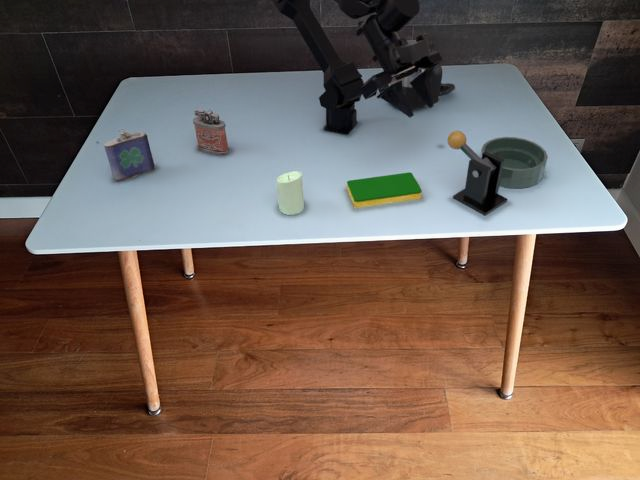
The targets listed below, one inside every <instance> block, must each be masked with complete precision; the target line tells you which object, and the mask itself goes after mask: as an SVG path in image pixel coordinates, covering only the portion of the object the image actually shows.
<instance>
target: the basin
mask: <svg viewBox="0 0 640 480" xmlns="http://www.w3.org/2000/svg"><path fill="white" fill-rule="evenodd" d="M485 151H486V152H488V153H490V154H493V155H495V156H497V157H499V158H501V159H503V160H504V165H503V170H502V175H501V180H500V185H499V187H502V188H507V189H526V188H527V189H528V188H531V187H533V186H536V185H538V184H539V183H540V182H541V181H543V178H544V174H545V169H546V165H547V163H548V153H547V151H546V150H545V148H543V147H542V146H541V145H539V144H538V143H536V142H535V141H531V140H529V139H527V138H521V137H515V136H502V137H495V138H493V139H489V140H487V141H486V142H485V143H484V144H482V146H481V149H480V155H479V157H480V158H481V159H482V153H484V152H485Z"/></svg>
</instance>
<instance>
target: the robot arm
mask: <svg viewBox="0 0 640 480" xmlns="http://www.w3.org/2000/svg"><path fill="white" fill-rule="evenodd" d="M333 1H334V2H335V3H337V5H338V8H339V10H340V11H341V12H342V13H344V14H345V15H346V16H348V17H349V18H350V19H352V20H358V19H360V18H364V17H366V16H368V17H367V18H366V19H363V20H361V21H359V22H357V28H356V33H355V35H356V37H361V36H363V35H364V36H365V38H366V40H367V42H368V45H369V46H370V48H371V50H372V51H373V54H374V55H373V57H372V61H373V62H374V63H376V62H378V63H379V65H380V67H381V69H382V71H380V72H379V73H376V74H374V75H371V77H369V78H368V79H367V80H366V81H364V80H363V75H362V73H360V72H359V69H358V68H357V66H356V64H355V63H354V62H353V61H350V62H345V61H343V60H342V59H341V57H340V56H339V53H338V52H337V50H336V48H335V46H334V45H333V43H332V41H331V40H330V39H329V37H328V35H327V34H326V33H327V32H325V31H326V30H325V29H324V28H323V26H322V24H321V22H320V21H319V20H318V18H317V16H316V15H315V13H314V11H313V9H312V6H311V0H271V2H272V4H273V5H274V6H275V8H276V9H277V10H278V12H279V13H280V14H282V15H283V16H285V17H287V18H289V19H290V20H292V22H293V23H294V25H295V27H296V29H297V30H298V32H299V34H300V35H301V37H302V39H303V41H304V42H305V44H306V46H307V47H308V49H309V51H310V52H311V54H312V56H313V58H314V60H315V61H316V62H317V64H318V66H319V68H320V70H321V71H322V73H323V82H322V83H323V88H324V92H323V93H321V94H320V95H319V96H318V100H319V105H320V107H322V108H324V109H325V125H324V127H323V131H327V132H331V133H335V134H341V135H349V134H350V133H351V132H352V130H354V129H355V127H356V126H357V125H358V121H357V119H358V118H357V117H358V115H357V112H358V111H357V109H356V103H357V102H360V101H361V99H362V97H363V99H364V100H366V101H367V100H368V99H371V98H373V97H375V96H376V99H378V100H379V99H381V100H383V101H384V102H386V103H388V104H390V105H391V106H392V107H393V108H396V109H397V110H398V111H400V112H401V113H402V114H404V115H406V117H408V118H412V117H413V116H414V115H415V114H414V112H413V110H412V109H411V107H410V105H409V103H408V101H407V99H406V97H405V95H404V93H403V91H402V80H401V79H403V78H405V77H408V76H410V75H411V77H412V79H413V80H412V81H411V82H410V84H411V86H412V87H413V88H414V90H415V91H416V92H417V93H418V95H419V96H420V97H421V99H422V100H423V101H424V103H425V104H426V105H425V106H427V107H428V109H431V108H432V107H434V105H435V104H433V98H432V91H431V83H430V77H431V74H432V71H433V70H434V69H435V66H437V65H438V64H439V63H440V64H441V63H443V61H444V60H443V58H442V56H441V54H440V52H439V51H436V50H432V49H433V48H434V41H433V39H432V37H431V35H430V34H429V32H424V33H421V34H418V35H416V39H415V40H416V41H415V42H412V43H408V42H407V39H406V38H405V37H401V38H400V37H399V35H398V33H397V32H400V31H401V30H402V29H403V28H405V27H406V25H408V23H409V22H411V21H412V20H413V19H414V18H416V17H417V15H418V14H419V12H420V7H421V5H420V1H419V0H333ZM430 49H431V50H432V51H431V50H430ZM413 62H414V63H413ZM412 63H413V64H412ZM398 80H401V81H399V82H397V81H398ZM378 93H379V94H378ZM377 94H378V95H377Z"/></svg>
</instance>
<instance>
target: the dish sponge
mask: <svg viewBox="0 0 640 480" xmlns="http://www.w3.org/2000/svg"><path fill="white" fill-rule="evenodd" d="M346 190H347V192H348V195H349V198H350V199H351V203H352V205H353V208H354V209H355V210H358V209H359V208H363V207H365V208H366V207H372V206H379V205H385V204H392V203H400V202H407V201H413V200H420V199H422V188H421V186H420V184H419V183H418V180H416V178H415V176H414V174H413V172H410V171H409V172H402V173H401V172H400V173H395V174H388V175H380V176H373V177H366V178H358V179H351V180H350V179H349V180H347V181H346Z"/></svg>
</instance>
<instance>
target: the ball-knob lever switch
mask: <svg viewBox="0 0 640 480" xmlns="http://www.w3.org/2000/svg"><path fill="white" fill-rule="evenodd" d="M486 157H487V158H488V159H489V160H490V161H491V162H492V163H493V164H494V165H495V166H496V167H497V168H496V169H495V170H494V172H493V173H492V175H490V172H491V168H490V167H488V166H486V165H484V164H482V163H480V162H478V161H476V160H474V159H469V160H468V167H467V172H466V178H465V186H464V188H463V189H462V190H460V191H459V192H457V193H455V194H453V196H452V199H453V200H455V201H457V202H459V203H461V204H462V205H464V206H466V207H468V208H470V209H472V210H473V211H475V212H477V213H478V214H480V215H482V216H484V217H486V216H487V215H489V214H490V213H492V212H494V211H496V210H497V209H498V208H500V207H502V206H503V205H505V204H506V203H507V202H508V200H509V199H508V198H507V197H506V196H503V195H501V194H499V189H500V186H499V185H500V180H501V175H502V170H503V165H504V160H503V159H501V158H499V157H497V156H495V155H493V154H490V153H488V152H486V151H485V152H484V153H482V160H483V159H485V158H486Z"/></svg>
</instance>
